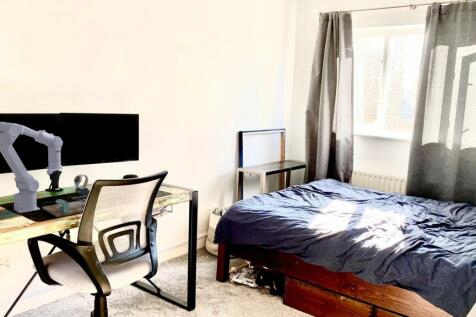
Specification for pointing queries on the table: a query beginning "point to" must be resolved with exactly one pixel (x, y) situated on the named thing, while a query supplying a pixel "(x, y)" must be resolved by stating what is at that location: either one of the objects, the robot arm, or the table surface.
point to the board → (53, 211)
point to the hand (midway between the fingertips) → (55, 185)
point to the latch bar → (73, 205)
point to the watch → (77, 181)
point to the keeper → (63, 205)
